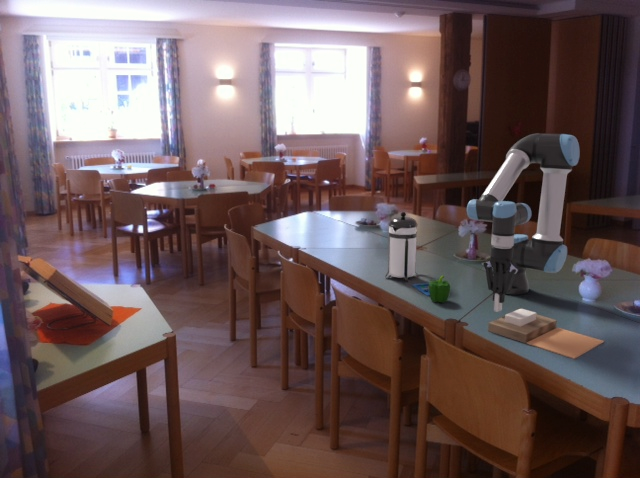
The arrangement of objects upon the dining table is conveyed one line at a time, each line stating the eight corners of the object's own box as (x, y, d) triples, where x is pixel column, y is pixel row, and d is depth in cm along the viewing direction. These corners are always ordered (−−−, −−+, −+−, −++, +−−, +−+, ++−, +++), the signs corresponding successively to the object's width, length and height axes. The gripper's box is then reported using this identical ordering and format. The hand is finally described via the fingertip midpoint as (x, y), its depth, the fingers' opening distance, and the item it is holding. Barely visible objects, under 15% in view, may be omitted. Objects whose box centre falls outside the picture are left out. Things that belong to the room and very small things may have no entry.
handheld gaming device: (427, 294, 241) (412, 283, 255) (427, 297, 242) (411, 286, 256) (446, 292, 244) (429, 282, 258) (445, 295, 244) (429, 284, 258)
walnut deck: (519, 317, 217) (520, 309, 217) (556, 328, 207) (556, 320, 206) (488, 331, 205) (488, 322, 204) (525, 343, 194) (525, 334, 194)
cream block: (520, 315, 211) (520, 308, 211) (535, 319, 207) (536, 312, 206) (504, 321, 205) (505, 314, 204) (520, 326, 200) (520, 319, 200)
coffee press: (424, 282, 260) (426, 214, 254) (388, 283, 259) (389, 215, 252) (415, 271, 277) (417, 207, 271) (381, 272, 276) (382, 208, 269)
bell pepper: (438, 305, 230) (439, 281, 228) (424, 300, 237) (425, 275, 235) (454, 302, 234) (455, 277, 232) (440, 296, 241) (441, 272, 239)
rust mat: (557, 328, 207) (557, 327, 206) (603, 342, 195) (603, 341, 195) (526, 343, 194) (526, 342, 194) (574, 359, 182) (574, 357, 182)
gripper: (479, 244, 209) (476, 308, 215) (513, 251, 200) (508, 317, 205) (492, 241, 214) (488, 303, 219) (525, 247, 204) (520, 312, 210)
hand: (497, 310), depth 212 cm, fingers closed
